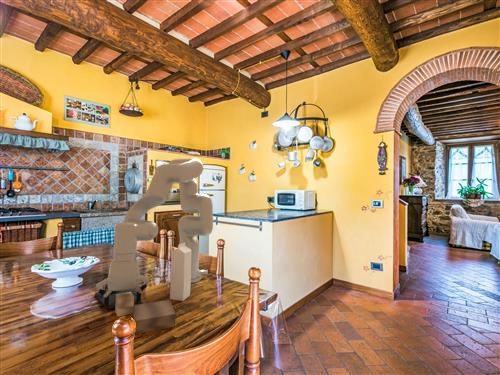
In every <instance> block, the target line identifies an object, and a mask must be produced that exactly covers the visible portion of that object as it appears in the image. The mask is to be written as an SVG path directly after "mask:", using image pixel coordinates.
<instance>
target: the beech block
mask: <svg viewBox="0 0 500 375" xmlns="http://www.w3.org/2000/svg"><path fill="white" fill-rule="evenodd" d="M133 305H134V295H133V294H132V292H126V293H121V294H116V304H115V308H114V311H115V312H114V313H115V314H116V316H119V317H123V316H127V315H133Z"/></svg>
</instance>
